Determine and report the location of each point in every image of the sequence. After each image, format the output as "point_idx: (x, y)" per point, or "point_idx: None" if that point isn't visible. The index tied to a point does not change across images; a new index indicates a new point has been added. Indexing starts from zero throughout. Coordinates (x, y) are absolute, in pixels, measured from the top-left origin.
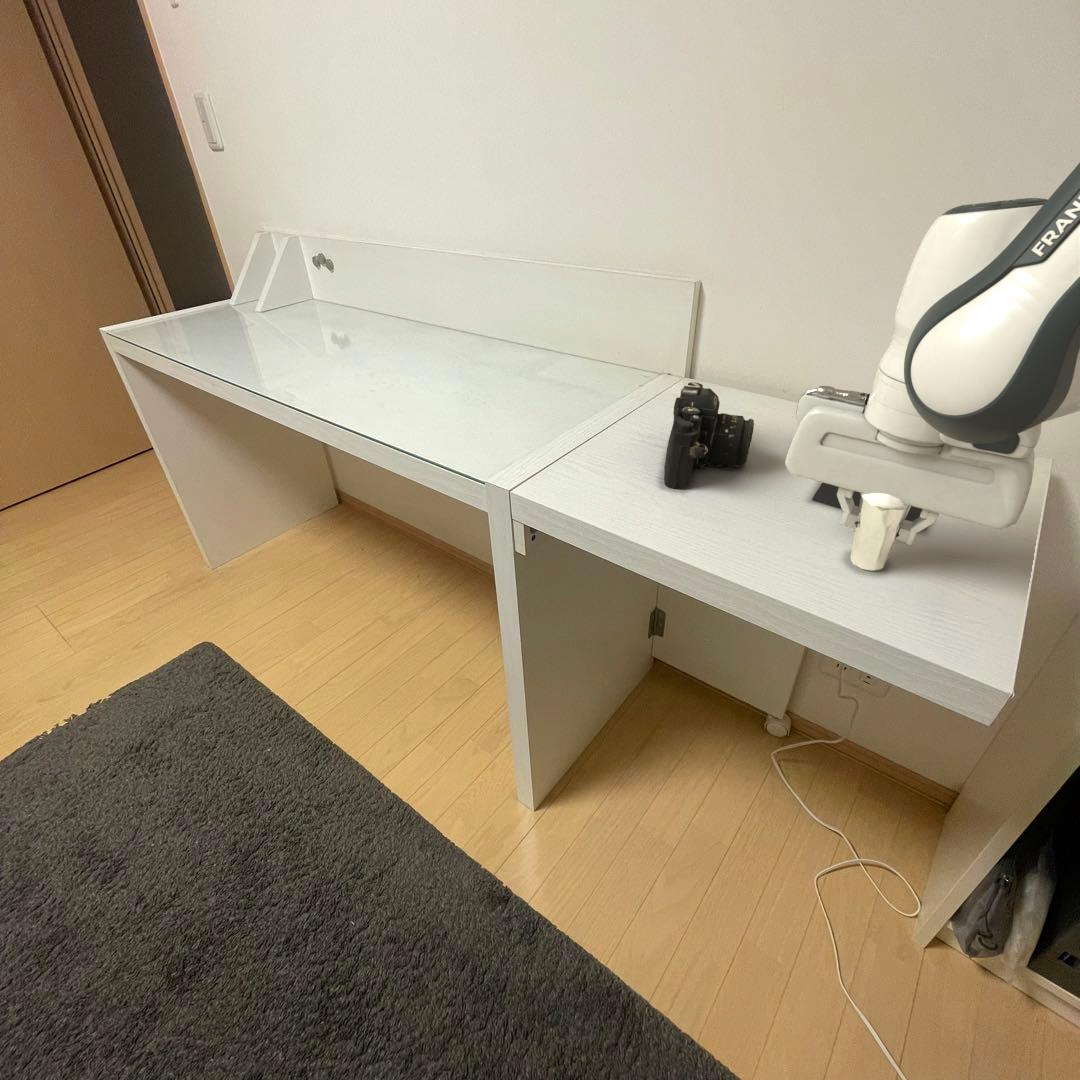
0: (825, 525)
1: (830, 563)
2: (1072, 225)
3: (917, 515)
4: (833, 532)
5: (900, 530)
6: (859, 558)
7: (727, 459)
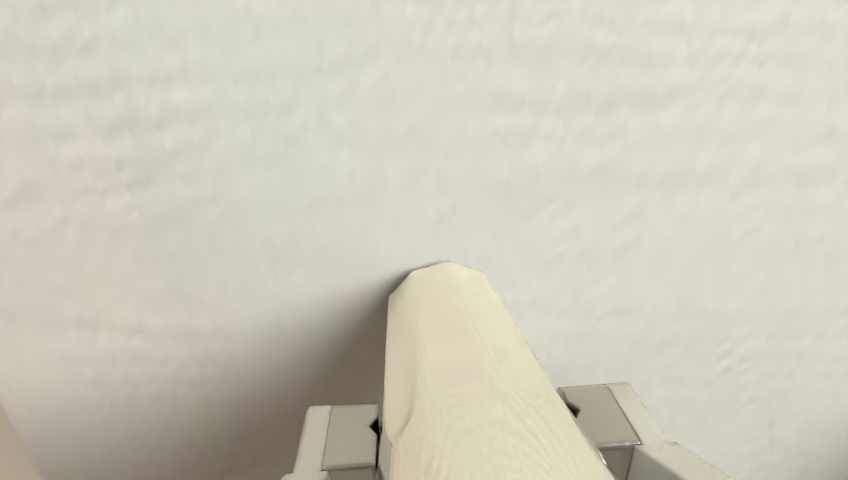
0: None
1: (555, 232)
2: None
3: None
4: None
5: (370, 450)
6: (474, 283)
7: None
